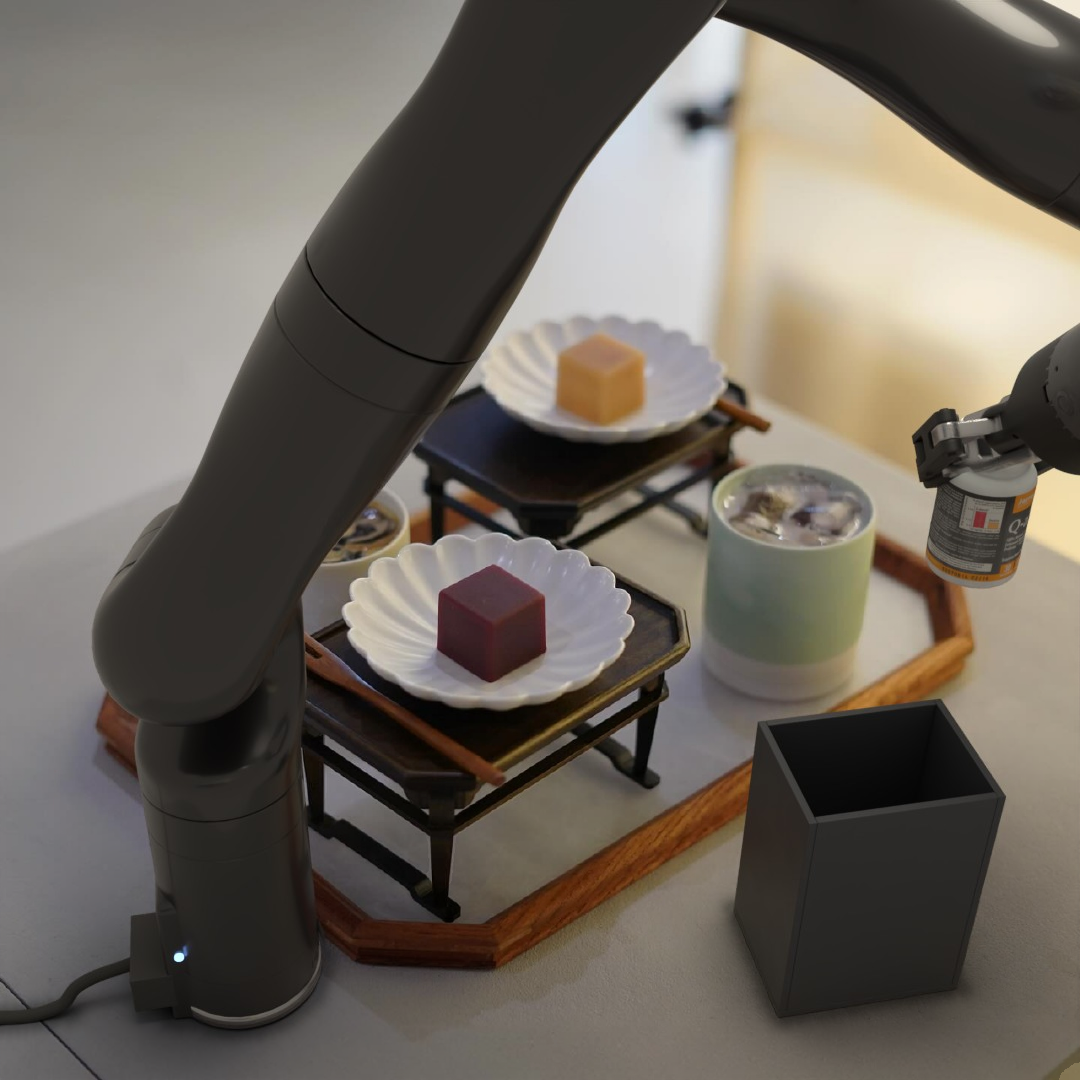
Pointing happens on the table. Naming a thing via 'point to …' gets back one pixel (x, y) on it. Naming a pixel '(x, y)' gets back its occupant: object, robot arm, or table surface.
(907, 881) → the waste bin
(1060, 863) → the table surface
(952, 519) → the pill bottle
